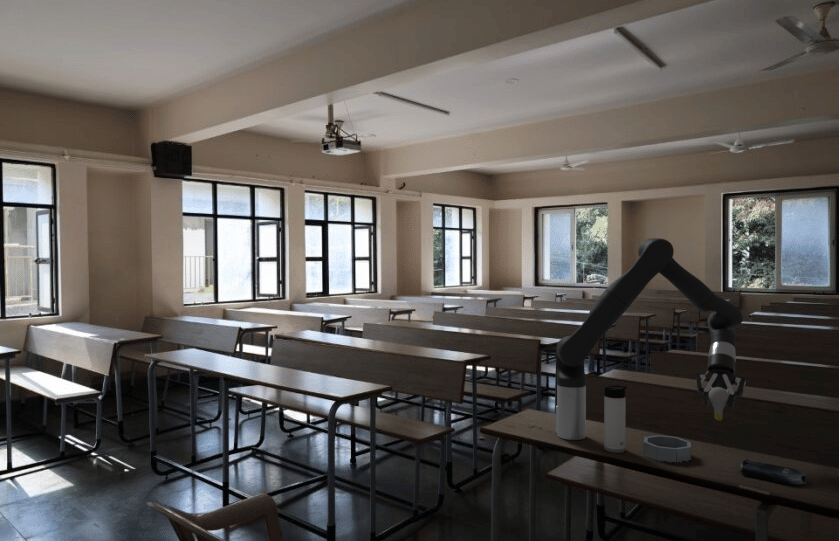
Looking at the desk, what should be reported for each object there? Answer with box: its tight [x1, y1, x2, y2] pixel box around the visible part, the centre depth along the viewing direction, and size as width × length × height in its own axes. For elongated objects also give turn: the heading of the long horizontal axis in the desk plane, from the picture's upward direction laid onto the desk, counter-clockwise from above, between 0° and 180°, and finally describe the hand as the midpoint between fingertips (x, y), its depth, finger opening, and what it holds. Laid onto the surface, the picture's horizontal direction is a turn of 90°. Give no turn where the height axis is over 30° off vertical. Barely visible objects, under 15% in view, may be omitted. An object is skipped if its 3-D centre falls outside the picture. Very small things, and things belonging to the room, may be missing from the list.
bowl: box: [643, 434, 692, 464], centre depth 182 cm, size 13×13×4 cm
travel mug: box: [603, 384, 627, 454], centre depth 187 cm, size 6×7×20 cm
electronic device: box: [739, 457, 807, 486], centre depth 164 cm, size 9×6×15 cm
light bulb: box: [709, 387, 729, 422], centre depth 179 cm, size 6×6×10 cm
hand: (718, 406), depth 178 cm, fingers closed on light bulb, 5 cm apart
